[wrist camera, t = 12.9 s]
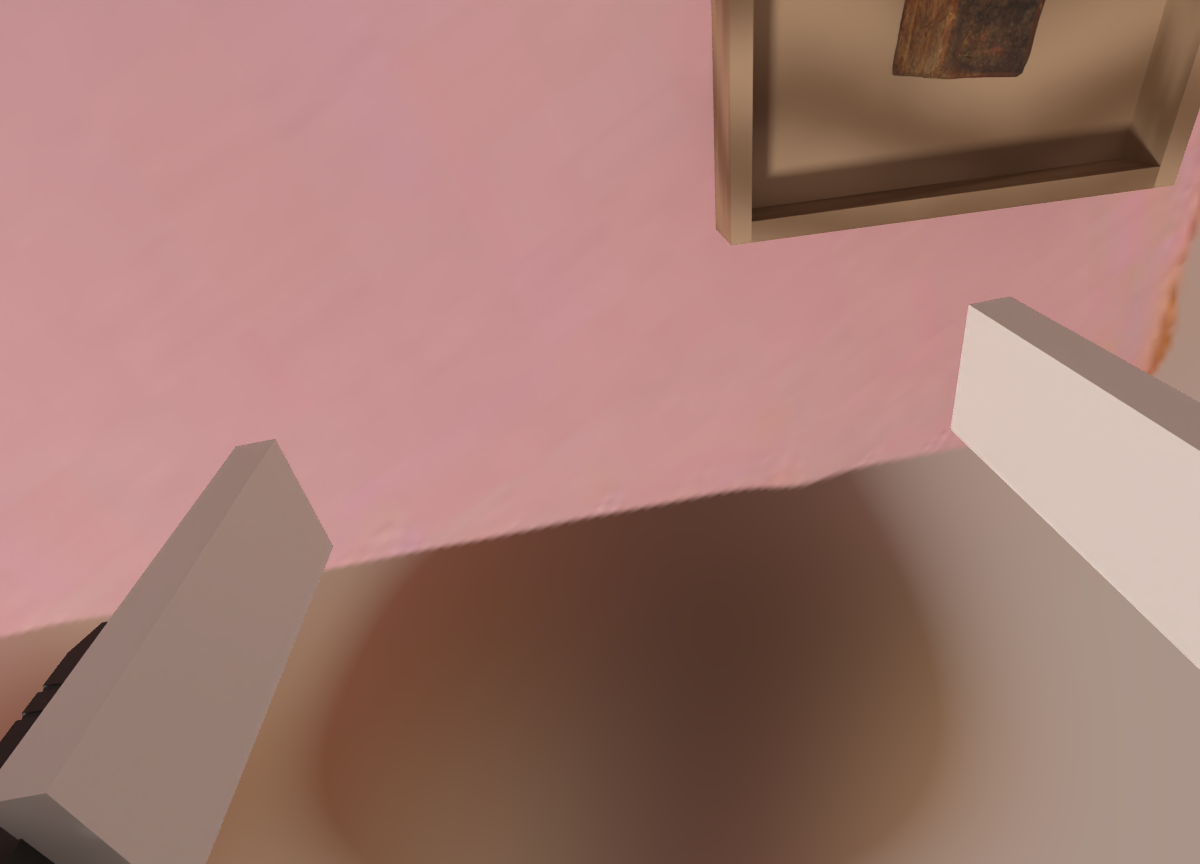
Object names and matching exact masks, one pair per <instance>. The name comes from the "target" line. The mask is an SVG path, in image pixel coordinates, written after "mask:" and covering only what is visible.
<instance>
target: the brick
mask: <svg viewBox="0 0 1200 864" xmlns="http://www.w3.org/2000/svg"><path fill="white" fill-rule="evenodd" d="M1045 1H1046V0H905V3H904V8H903V13H902V19H901V22H900V29H899V34H898V40H897V45H896V49H895V54H894V60H893V67H892V75H894V76H912V77H922V78H931V79H959V78H982V77H1017V76H1019V75H1020V74H1022V73H1023V70H1024V67H1025V65H1026V63H1027V61H1028V59H1029V56H1030V53H1031V49H1032V45H1033V41H1034V37H1035V33H1036V29H1037V26H1038V22H1039V18H1040V15H1041V13H1042V9H1043V6H1044V3H1045Z"/></svg>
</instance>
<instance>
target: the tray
mask: <svg viewBox="0 0 1200 864" xmlns="http://www.w3.org/2000/svg"><path fill="white" fill-rule="evenodd" d="M904 3H905V0H712V48H713V98H714V148H715V199H716V229H717V230H718V231H719V233H720V234H721V235H722V236H723V237H724V238H725V239H726V240H727V241H728V242H729V243H730V244H731V245H737V244H744V243H751V242H759V241H766V240H773V239H781V238H788V237H796V236H803V235H810V234H818V233H825V232H832V231H840V230H847V229H855V228H862V227H869V226H877V225H884V224H891V223H899V222H906V221H914V220H921V219H928V218H936V217H943V216H950V215H958V214H965V213H973V212H980V211H987V210H995V209H1002V208H1009V207H1017V206H1024V205H1031V204H1039V203H1046V202H1054V201H1061V200H1068V199H1076V198H1083V197H1090V196H1098V195H1105V194H1113V193H1120V192H1127V191H1135V190H1142V189H1149V188H1157V187H1164V186H1172V185H1174V183H1175V180H1176V177H1177V174H1178V171H1179V168H1180V165H1181V162H1182V159H1183V156H1184V153H1185V150H1186V147H1187V144H1188V141H1189V138H1190V135H1191V132H1192V129H1193V126H1194V123H1195V120H1196V117H1197V114H1198V111H1199V108H1200V0H1046V1H1045V3H1044V6H1043V9H1042V13H1041V15H1040V18H1039V22H1038V26H1037V29H1036V33H1035V37H1034V41H1033V45H1032V49H1031V53H1030V56H1029V59H1028V61H1027V63H1026V65H1025V67H1024V70H1023V73H1022V74H1020V75H1019V76H1017V77H982V78H959V79H931V78H922V77H912V76H894V75H892V67H893V60H894V54H895V49H896V45H897V40H898V34H899V29H900V22H901V19H902V13H903V8H904Z"/></svg>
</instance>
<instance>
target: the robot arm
mask: <svg viewBox="0 0 1200 864" xmlns="http://www.w3.org/2000/svg"><path fill="white" fill-rule="evenodd" d="M951 430H952V431H953V432H954V433H955V434H956V435H957V436H958V437H959V438H960V439H961V440H962V441H963V442H964V443H965V444H966V445H967V446H968V447H970V448H971V449H972V450H973V451H974V452H975V453H976V454H977V455H978V456H979V457H980V458H981V459H982V460H983V461H984V462H985V463H986V464H987V465H988V466H989V467H990V468H991V469H992V470H993V471H994V472H995V473H996V474H998V475H999V476H1000V477H1001V478H1002V479H1003V480H1004V481H1005V482H1006V483H1007V484H1008V485H1009V486H1010V487H1011V488H1012V489H1013V490H1014V491H1015V492H1016V493H1017V494H1018V495H1019V496H1020V497H1021V498H1022V499H1023V500H1025V501H1026V502H1027V503H1028V504H1029V505H1030V506H1031V507H1032V508H1033V509H1034V510H1035V511H1036V512H1037V513H1038V514H1039V515H1040V516H1041V517H1042V518H1043V519H1044V520H1045V521H1046V522H1047V523H1048V524H1049V525H1051V526H1052V527H1053V528H1054V529H1055V530H1056V531H1057V532H1058V533H1059V534H1060V535H1061V536H1062V537H1063V538H1064V539H1065V540H1066V541H1067V542H1068V543H1069V544H1070V545H1071V546H1072V547H1073V548H1074V549H1075V550H1076V551H1077V552H1078V553H1079V554H1080V555H1082V556H1083V557H1084V558H1085V559H1086V560H1087V561H1088V562H1089V563H1090V564H1091V565H1092V566H1093V567H1094V568H1095V569H1096V570H1097V571H1098V572H1099V573H1100V574H1101V575H1102V576H1103V577H1104V578H1105V579H1106V580H1107V581H1109V582H1110V583H1111V584H1112V585H1113V586H1114V587H1115V588H1116V589H1117V590H1118V591H1119V592H1120V593H1121V594H1122V595H1123V596H1124V597H1125V598H1126V599H1127V600H1128V601H1129V602H1130V603H1131V604H1132V605H1133V606H1135V608H1137V609H1138V610H1139V611H1140V612H1141V613H1142V614H1143V615H1144V616H1145V617H1146V618H1147V619H1148V620H1149V621H1150V622H1151V623H1152V624H1153V625H1154V626H1155V627H1156V628H1157V629H1158V630H1159V631H1160V632H1161V633H1162V634H1163V635H1164V636H1166V637H1167V638H1168V639H1169V640H1170V641H1171V642H1172V643H1173V644H1174V645H1175V646H1176V647H1177V648H1178V649H1179V650H1180V651H1181V652H1182V653H1183V654H1184V655H1185V656H1186V657H1187V658H1188V659H1189V660H1190V661H1191V662H1193V663H1194V664H1195V665H1196V666H1197V667H1198V668H1199V669H1200V403H1199V402H1198V401H1196V400H1194V399H1192V398H1191V397H1189V396H1187V395H1185V394H1183V393H1181V392H1180V391H1178V390H1176V389H1174V388H1173V387H1171V386H1169V385H1167V384H1166V383H1164V382H1162V381H1160V380H1158V379H1157V378H1155V377H1153V376H1151V375H1149V374H1148V373H1146V372H1144V371H1142V370H1141V369H1139V368H1137V367H1135V366H1133V365H1132V364H1130V363H1128V362H1126V361H1125V360H1123V359H1121V358H1119V357H1117V356H1116V355H1114V354H1112V353H1110V352H1108V351H1107V350H1105V349H1103V348H1101V347H1100V346H1098V345H1096V344H1094V343H1092V342H1091V341H1089V340H1087V339H1085V338H1083V337H1082V336H1080V335H1078V334H1076V333H1075V332H1073V331H1071V330H1069V329H1067V328H1066V327H1064V326H1062V325H1060V324H1058V323H1057V322H1055V321H1053V320H1051V319H1050V318H1048V317H1046V316H1044V315H1042V314H1041V313H1039V312H1037V311H1035V310H1034V309H1032V308H1030V307H1028V306H1026V305H1025V304H1023V303H1021V302H1019V301H1017V300H1016V299H1014V298H1012V297H1006V298H1000V299H995V300H990V301H985V302H980V303H975V304H969V307H968V314H967V321H966V327H965V334H964V341H963V348H962V355H961V362H960V369H959V376H958V382H957V389H956V396H955V403H954V410H953V417H952V424H951ZM332 548H333V545H332V543H331V541H330V540H329V538H328V536H327V534H326V532H325V530H324V528H323V527H322V525H321V523H320V521H319V519H318V517H317V515H316V514H315V512H314V510H313V508H312V506H311V504H310V502H309V501H308V499H307V497H306V495H305V493H304V491H303V489H302V488H301V486H300V484H299V482H298V480H297V478H296V476H295V475H294V473H293V471H292V469H291V467H290V465H289V463H288V462H287V460H286V458H285V456H284V454H283V452H282V450H281V449H280V447H279V445H278V443H277V441H276V439H273V440H268V441H262V442H257V443H252V444H247V445H242V446H237V447H235V449H234V450H233V451H232V453H231V454H230V456H229V457H228V458H227V460H226V461H225V462H224V464H223V465H222V466H221V468H220V469H219V471H218V472H217V473H216V475H215V476H214V477H213V479H212V480H211V482H210V483H209V484H208V486H207V487H206V488H205V490H204V491H203V492H202V494H201V495H200V497H199V498H198V499H197V501H196V502H195V503H194V505H193V506H192V508H191V509H190V510H189V512H188V513H187V514H186V516H185V517H184V518H183V520H182V521H181V523H180V524H179V525H178V527H177V528H176V529H175V531H174V532H173V534H172V535H171V536H170V538H169V539H168V540H167V542H166V543H165V544H164V546H163V547H162V549H161V550H160V551H159V553H158V554H157V555H156V557H155V558H154V560H153V561H152V562H151V564H150V565H149V566H148V568H147V569H146V570H145V572H144V573H143V575H142V576H141V577H140V579H139V580H138V581H137V583H136V584H135V586H134V587H133V588H132V590H131V591H130V592H129V594H128V595H127V596H126V598H125V599H124V601H123V602H122V603H121V605H120V606H119V607H118V609H117V610H116V611H115V613H114V614H113V616H112V617H111V618H110V620H109V621H108V622H103V623H101V624H100V625H99V626H98V627H97V628H96V629H94V630H93V631H92V632H91V633H90V634H89V635H88V636H86V637H85V638H84V639H83V640H82V641H81V642H80V643H79V644H77V645H76V646H75V647H74V648H73V649H72V650H71V651H69V652H68V653H67V655H66V656H65V657H64V659H63V660H62V661H61V663H60V664H59V665H58V666H57V668H56V669H55V670H54V672H53V673H52V674H51V676H50V677H49V678H48V680H47V681H46V682H45V684H44V685H43V688H44V689H43V692H39V693H37V694H36V696H35V697H34V698H33V699H32V701H31V702H30V703H29V705H28V706H27V707H26V709H25V710H24V711H23V713H22V715H23V718H22V720H18V721H16V722H15V723H14V725H13V726H12V727H11V729H10V730H9V731H8V732H7V734H6V735H5V736H4V738H3V739H2V740H1V742H0V864H206V862H207V860H208V857H209V855H210V852H211V850H212V847H213V845H214V842H215V840H216V837H217V835H218V832H219V830H220V827H221V825H222V822H223V820H224V817H225V815H226V812H227V810H228V807H229V805H230V802H231V800H232V797H233V795H234V792H235V790H236V787H237V785H238V782H239V780H240V777H241V775H242V772H243V770H244V767H245V765H246V762H247V760H248V757H249V755H250V752H251V750H252V747H253V745H254V742H255V740H256V737H257V735H258V732H259V730H260V727H261V725H262V722H263V720H264V717H265V715H266V712H267V710H268V707H269V705H270V702H271V700H272V697H273V695H274V692H275V690H276V687H277V685H278V682H279V680H280V677H281V675H282V672H283V670H284V667H285V665H286V662H287V660H288V657H289V655H290V653H291V650H292V647H293V645H294V642H295V640H296V638H297V635H298V633H299V630H300V628H301V625H302V623H303V620H304V618H305V615H306V612H307V610H308V608H309V605H310V602H311V600H312V598H313V595H314V592H315V590H316V587H317V585H318V582H319V580H320V578H321V575H322V573H323V570H324V568H325V565H326V563H327V560H328V558H329V555H330V553H331V550H332Z"/></svg>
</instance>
